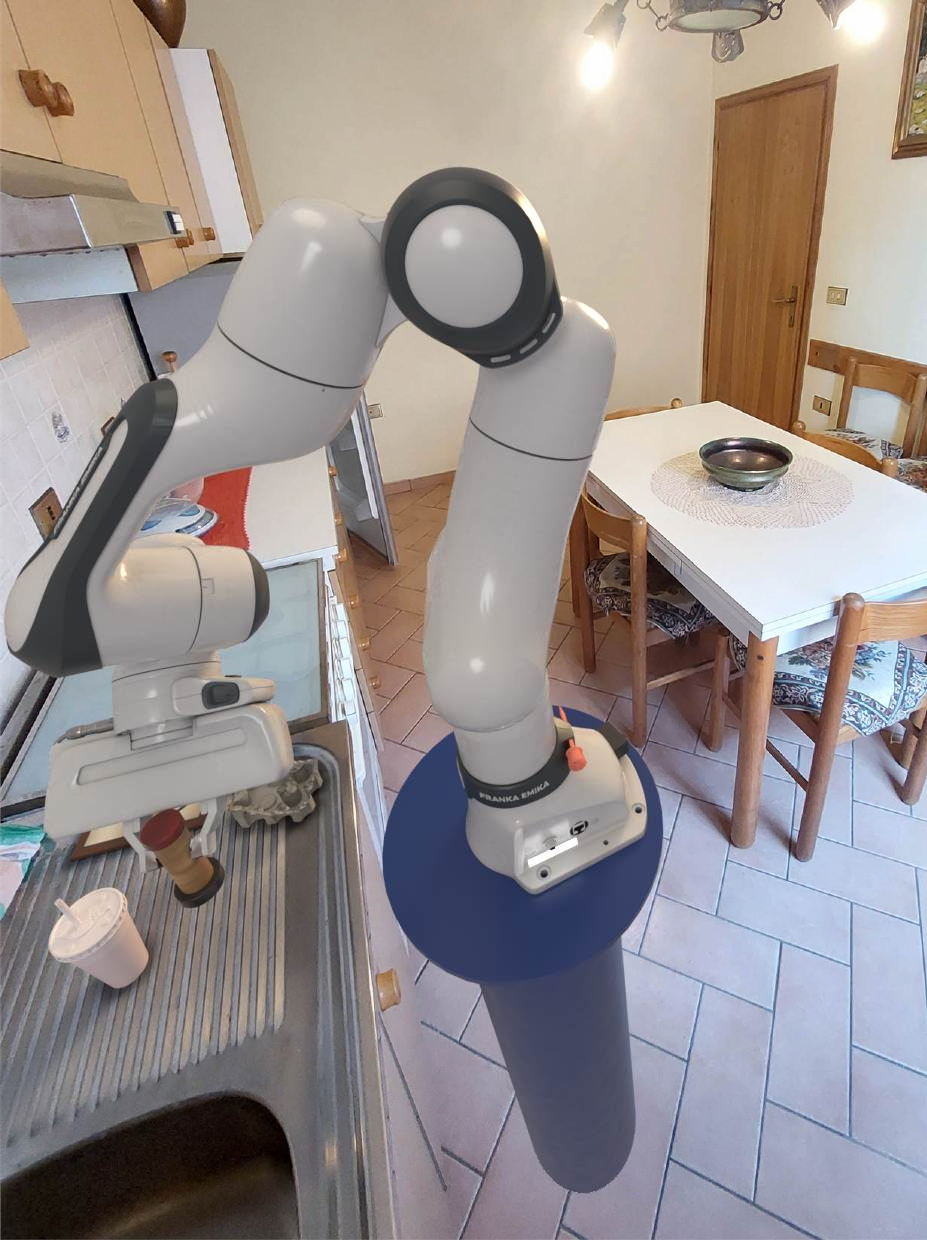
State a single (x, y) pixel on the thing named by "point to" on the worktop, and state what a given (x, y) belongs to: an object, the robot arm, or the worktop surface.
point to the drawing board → (114, 834)
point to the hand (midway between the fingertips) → (179, 862)
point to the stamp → (182, 859)
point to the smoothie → (99, 938)
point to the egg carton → (279, 796)
